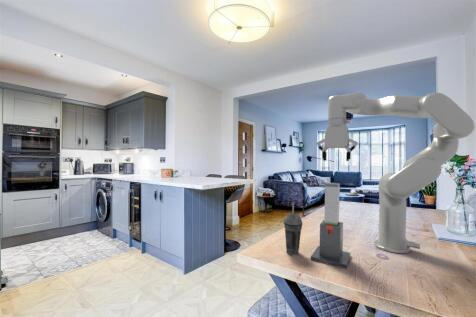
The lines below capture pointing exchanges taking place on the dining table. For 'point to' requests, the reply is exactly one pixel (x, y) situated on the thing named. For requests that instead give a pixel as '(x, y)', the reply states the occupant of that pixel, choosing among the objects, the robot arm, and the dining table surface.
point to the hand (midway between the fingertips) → (336, 160)
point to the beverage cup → (292, 231)
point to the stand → (331, 246)
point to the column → (332, 203)
